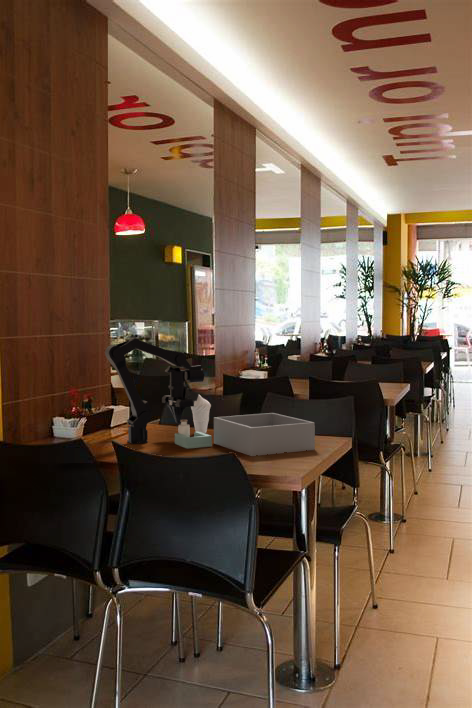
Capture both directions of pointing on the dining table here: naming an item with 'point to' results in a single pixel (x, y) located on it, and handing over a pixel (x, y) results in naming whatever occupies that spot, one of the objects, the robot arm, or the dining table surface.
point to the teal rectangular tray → (193, 440)
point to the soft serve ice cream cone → (201, 414)
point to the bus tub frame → (264, 433)
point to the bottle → (184, 428)
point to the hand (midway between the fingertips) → (177, 422)
